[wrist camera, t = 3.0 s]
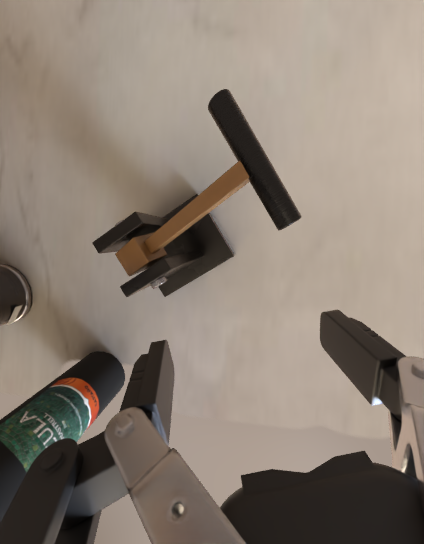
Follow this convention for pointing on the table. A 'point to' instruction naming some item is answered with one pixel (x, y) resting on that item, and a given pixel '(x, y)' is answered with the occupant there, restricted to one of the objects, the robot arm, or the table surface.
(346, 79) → the table surface
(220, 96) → the lever
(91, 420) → the wine bottle
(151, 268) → the bracket
